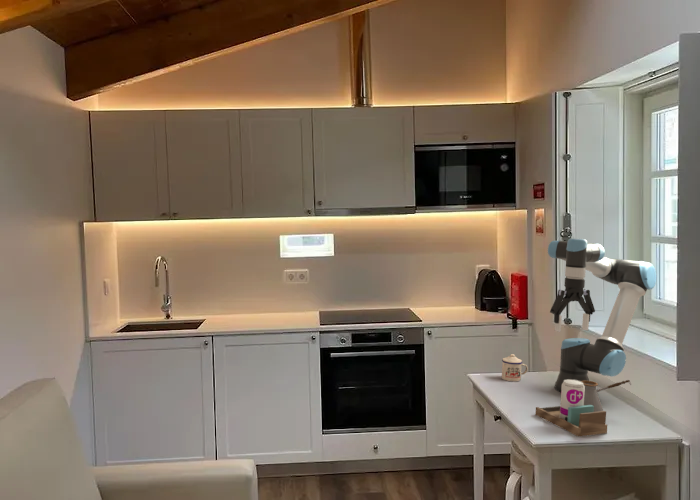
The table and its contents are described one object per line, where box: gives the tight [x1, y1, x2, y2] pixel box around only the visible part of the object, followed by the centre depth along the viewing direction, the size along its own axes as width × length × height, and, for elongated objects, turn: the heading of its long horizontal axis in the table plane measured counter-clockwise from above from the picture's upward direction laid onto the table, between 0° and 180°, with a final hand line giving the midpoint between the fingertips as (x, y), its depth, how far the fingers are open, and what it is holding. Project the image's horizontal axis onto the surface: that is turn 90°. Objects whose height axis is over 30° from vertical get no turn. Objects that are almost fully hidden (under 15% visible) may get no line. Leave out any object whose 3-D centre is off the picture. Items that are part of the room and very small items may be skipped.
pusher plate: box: [567, 405, 594, 426], centre depth 237 cm, size 2×10×7 cm, turn 111°
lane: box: [534, 405, 608, 437], centre depth 242 cm, size 24×13×8 cm, turn 21°
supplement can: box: [559, 379, 585, 421], centre depth 241 cm, size 8×8×15 cm
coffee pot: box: [581, 379, 632, 412], centre depth 252 cm, size 21×12×15 cm, turn 83°
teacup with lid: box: [501, 353, 529, 382], centre depth 301 cm, size 12×9×12 cm
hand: (571, 330), depth 258 cm, fingers open, 13 cm apart
